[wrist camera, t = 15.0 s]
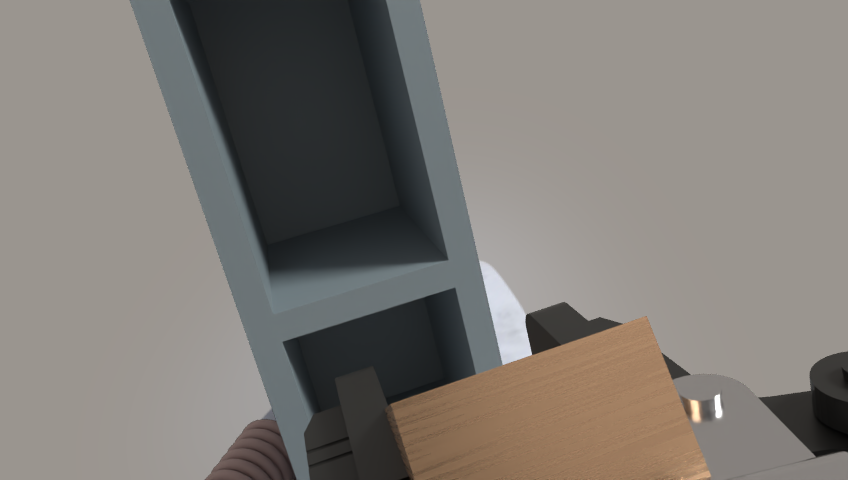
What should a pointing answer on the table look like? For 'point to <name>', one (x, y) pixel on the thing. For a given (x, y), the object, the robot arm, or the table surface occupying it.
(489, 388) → the wooden plank with hole
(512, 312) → the table surface
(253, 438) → the coil
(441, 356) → the tall grey-blue box
